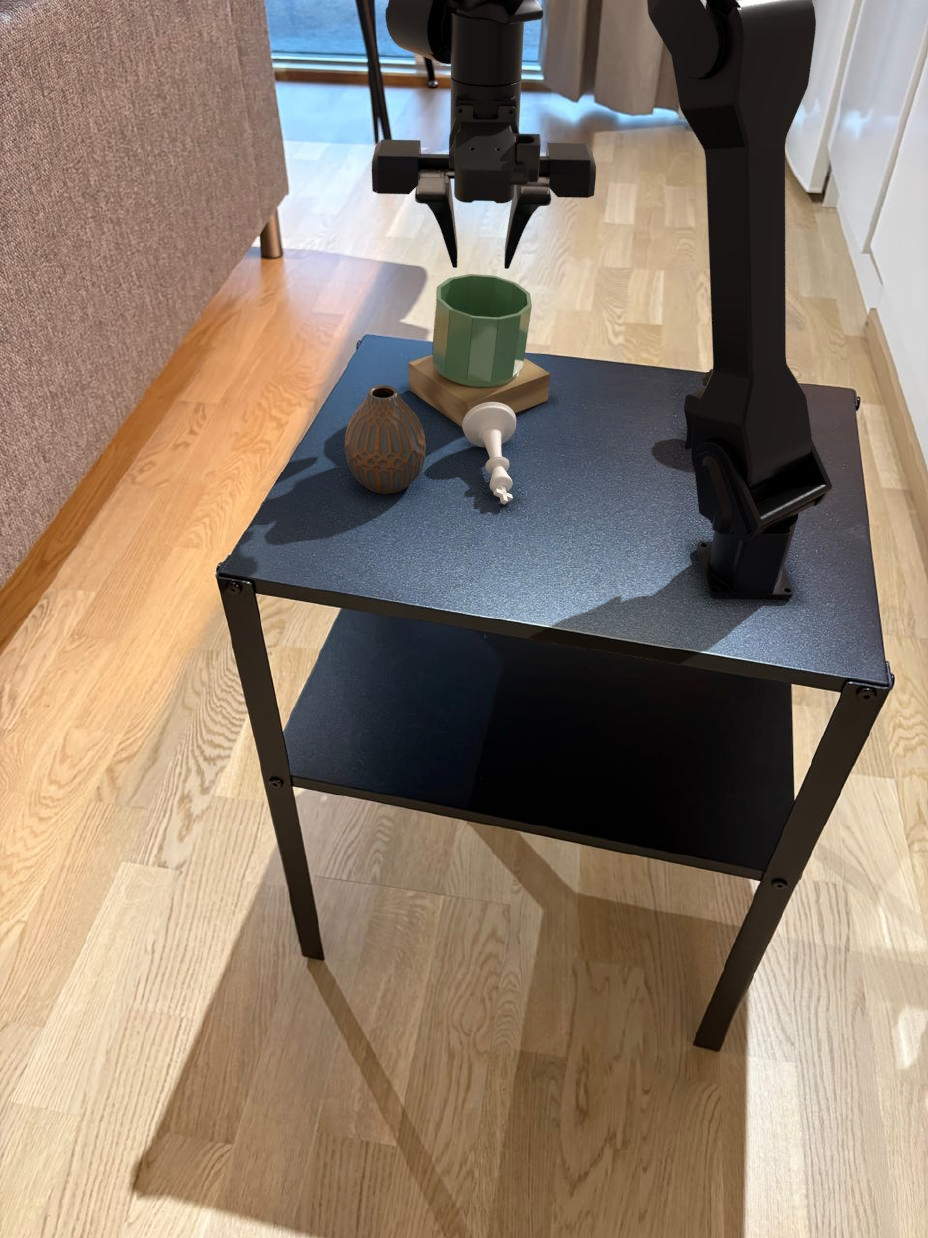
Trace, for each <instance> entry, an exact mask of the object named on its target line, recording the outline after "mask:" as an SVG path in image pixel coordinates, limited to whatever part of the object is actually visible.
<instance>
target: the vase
mask: <svg viewBox="0 0 928 1238" xmlns="http://www.w3.org/2000/svg"><path fill="white" fill-rule="evenodd" d="M426 443H427V442H426V436H425V432H424V428H423V425H422V423H421V420H420V418H419V417H418V415H417V414H416V412H415V411H414V410H413V409H412V408H411V407H410V406H409V405H408V404H407V403H406V402H405V401H404V400H403V398H402V397H401V395H400V393H399V391H398V389H396V388H395V387H393V386H391V385H384V384H381V385H376V386H373V387H371V388H370V389H369V390H368V392H367V395H366V397H365V398H364V401H363V402H362V403H361V404H360V405H359V406H358V407H357V409H356V410H355V411H354V413H353V414H352V416H351V417H350V419H349V421H348V424H347V427H346V431H345V435H344V453H345V459H346V462H347V465H348V468H349V470H350V473H351V474H352V475H353V477H354V478H355V480H356V481H357V482H358V483H359V484H360V485H361V486H363V487H364V488H366V489H368V490H370V491H371V492H374V493H377V494H382V495H383V494H384V495H386V494H395V493H398V492H402V491H404V490H405V489H406V488H407V487H409V486H410V485H411V484H413V483H414V482H415V481H416V479H417V478H418V477H419V475H420V473H421V472H422V469H423V466H424V463H425V459H426V450H427V448H426V447H427V446H426Z"/></svg>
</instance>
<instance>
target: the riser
mask: <svg viewBox="0 0 928 1238" xmlns="http://www.w3.org/2000/svg"><path fill="white" fill-rule="evenodd" d="M407 364H408V365H407V367H408V368H407V369H408V391H410V392H411V393H413V394H414V395H416V396H417V397H419V398H420V399H421V400H422V401H424V402H426V403H427V404H429V405H430V406H431V407H433V408H434V409H436V411H438V412H440V413H441V414H443V416H445V417H447V418H448V419H449V420H451V421H452V422H454V423H455V424H456V425H458V426H459V427H460V428H462V423H463V419H464V417H465V415H466V414H467V413H468V412H469V411H470V410H471V409H472V408H474V407H475V406H477V405H479V404H482V403H487V402H498V403H502V404H505V405H507V406H508V407H510V408H511V409H512V410H513V412H514V413H515V414H516V413H520V412H522V411H525V410H527V409H530V408H532V407H535V406H538V405H540V404H543V403H545V402H548V401H549V393H550V391H549V390H550V381H551V379H550V378H551V373H550V372H549V371H547V370H545V369H544V368H542V367H540V366H539V365H537V364H535V363H534V362H531V361H530V360H529V359H528V358H525V357H524V365H523V367H522V370H521V372H520V374H519V376H518V377H517V378H516V379H514V380H513V381H511V382H509V383H506V384H503V385H499V386H493V387H474V386H468V385H463V384H459V383H456V382H454V381H451V380H449V379H447V378H445V377H444V376H442V375H441V374H440V373H438V371H437V370H436V369H435V368H434V366H433V363H432V354H429V355H427V356H424V357H421V358H417V359H414V360H411V361H409V362H408V363H407Z"/></svg>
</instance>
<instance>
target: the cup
mask: <svg viewBox="0 0 928 1238" xmlns="http://www.w3.org/2000/svg"><path fill="white" fill-rule="evenodd" d="M435 291H436V292H435V306H434V319H433V333H432V346H431V349H432V350H431V351H432V352H431V355H432V363H433V366H434V368H435V369H436V370H437V371H438V373H440V374H441V375H442V376H444V377H445V378H447V379H449V380H451V381H454V382H456V383H459V384H463V385H468V386H474V387H493V386H499V385H503V384H506V383H509V382H511V381H513V380H514V379H516V378H517V377H518V376H519V374H520V372H521V370H522V367H523V365H524V358H525V356H526V350H527V342H528V337H529V336H528V335H529V330H530V329H529V328H530V322H531V315H532V313H531V312H532V307H533V304H532V296H531V293H530V292H529V291H527V290H526V289H525V288H524V287H522V286H521V285H520V284H519V283H517V282H515V281H512V280H509V279H507V278H503V277H501V276H497V275H489V274H477V273H476V274H475V273H468V274H463V275H458V276H452V277H449V278H447V279H446V280H444V281H443V282H441V283H440V284H439V285H437V286H436V289H435Z"/></svg>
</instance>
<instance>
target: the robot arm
mask: <svg viewBox="0 0 928 1238" xmlns="http://www.w3.org/2000/svg"><path fill="white" fill-rule="evenodd" d="M387 2H388V3H387V6H386V8H385V14H384V15H385V24H386V25H385V26H386V28H387V31H388V34H389V37H390V38H391V41H393V43H394V44H396V46H397V47H399V48H401V49H403V50H405V51H407V52H409V53H413V54H415V55H419V56H421V57H424V58H426V59H429V60H431V61H435V62H437V63H439V64H442V65H450V113H449V114H450V123H449V124H450V127H449V129H450V131H449V135H448V153H422V143H421V139H380V141H379V142H378V143H377V144H376V145H375V147H374V150H373V151H374V152H373V156H372V159H371V189H372V192H373V193H376V194H378V195H383V194H384V195H410V194H411V193H412V192H413V191H415V193H414V201H415V202H416V203H417V204H421V205H423V204H424V205H427V207H428V208H429V209H430V211H431V212H432V214H433V216H434V218H435V220H436V222H437V224H438V227H439V230H440V232H441V235H442V238H443V241H444V244H445V245H444V246H445V247H446V251H447V254H448V257H449V260H450V263H451V266H452V268H453V269H457V268H458V253H459V252H458V249H459V247H458V237H457V236H458V235H457V227H456V226H457V225H456V219H455V218H456V217H455V209H454V208H455V207H454V198H455V199H456V200H457V201H458V202H461V203H465V204H472V203H473V202H494V203H496V204H507V203H509V202H511V204H510V210H509V217H508V223H507V230H506V237H505V243H504V258H503V259H504V261H503V262H504V263H503V268H504V269H505V270H508V269H510V267H511V265H512V262H513V259H514V256H515V254H516V252H517V249H518V247H519V244H520V242H521V239H522V236H523V234H524V231H525V229H526V226H527V225H528V222H530V220H531V218H532V216H533V214H534V213H535V212H536V211H537V210H538V208H540V207H547V206H550V205H551V203H552V194H551V192H552V193H553V194H554V196H556V197H557V198H574V199H575V198H576V199H589V198H592V197H594V196H595V189H596V181H597V180H596V179H597V164H596V161H595V157H594V152H593V150H592V149H591V148H590V147H589V145H588V144H587V143H583V142H581V143H579V142H577V143H575V142H572V143H571V142H547V143H546V149H545V155H541V148H542V147H541V146H542V144H541V134H539V133H520V115H521V96H522V95H521V94H522V74H523V72H522V71H523V55H524V53H523V52H524V33H525V32H524V31H525V23H527V22H534V21H539V20H540V21H541V20H542V19H543V18H544V9H543V8H542V6H541V4H540V3H539V1H538V0H388V1H387ZM646 3H647V5H646V6H647V15H648V17H649V21H651V23H652V25H653V27H654V28H655V30H656V32H657V33H658V36H659V37H660V39H661V41H662V42H663V44H664V45H665V47H666V49H667V50H668V52H669V54H670V57H671V62H672V63H671V64H672V69H673V75H674V81H675V86H676V93H677V98H678V104H679V105H678V106H679V108H680V111H681V113H682V114H683V116H684V118H685V120H686V121H687V123H688V125H689V127H690V128H691V130H692V132H693V133H694V135H695V137H696V138H697V140H698V142H699V144H700V146H701V147H702V149H703V152H704V153H703V154H704V157H705V158H704V159H705V184H706V211H707V212H706V213H707V235H708V236H707V237H708V263H709V266H708V267H709V289H710V312H711V313H710V314H711V315H710V316H711V319H710V320H711V342H712V343H711V344H712V347H711V348H712V369H713V371H712V374H711V377H710V379H709V381H708V383H707V386H706V387H705V386H704V387H703V388H701V389H698V390H696V391H693V392H691V393H689V394H686V395H685V399H684V405H683V410H684V416H685V422H686V439H685V442H684V446H683V447H684V448H683V449H684V450H685V451H688V450H691V451H690V458H691V463H692V467H693V471H694V475H695V477H694V479H695V487H696V496H697V507H698V512H699V514H700V516H702V517H704V518H706V519H707V520H709V522H710V524H711V528H712V530H713V531H714V532H713V537H712V541H699V542H697V544H696V553H697V555H698V560H699V563H700V567H701V570H702V575H703V578H704V583H705V586H706V589H707V592H708V595H709V596H710V597H712V598H731V599H732V598H733V599H735V598H736V599H742V598H743V599H787V600H788V599H792V598H793V597H794V593H795V590H794V587H793V584H792V581H791V579H790V577H789V574H788V571H787V568H786V566H785V564H786V560H787V557H788V553H789V550H790V547H791V543H792V540H793V537H794V533H795V530H796V527H797V522H798V519H799V514H800V513H803V512H804V511H806V510H808V509H809V508H811V507H816V506H818V505H820V504H821V503H822V502H823V501H824V499H825V498H826V497H827V496H828V495H829V493H830V492H831V491H832V489H833V483H832V482H831V479H830V477H829V474H828V472H827V470H826V468H825V465H824V463H823V461H822V459H821V456H820V455H819V452H818V449H817V447H816V445H815V443H814V441H813V437H812V436H813V435H812V427H811V421H810V415H809V408H808V400H807V395H806V393H805V391H804V389H803V388H802V386H801V384H800V383H799V381H798V380H797V377H796V376H795V375H794V373H793V371H792V370H791V368H790V367H789V365H788V362H787V350H786V349H787V346H786V345H787V342H786V341H787V338H786V337H787V335H786V332H787V331H786V330H787V329H786V328H787V327H786V325H787V324H786V321H787V319H786V318H787V317H786V315H787V313H786V311H787V309H786V304H787V303H786V302H787V301H786V300H787V299H786V295H787V293H786V290H787V289H786V143H787V138H788V134H789V131H790V130H791V127H792V124H793V123H794V120H795V117H796V115H797V113H798V110H799V108H800V106H801V103H802V101H803V99H804V97H805V94H806V92H807V90H808V87H809V82H810V75H811V68H812V61H813V53H814V45H815V38H816V31H817V30H816V29H817V18H816V10H815V6H814V3H813V0H646ZM452 180H453V187H452ZM452 188H453V189H452ZM453 194H454V198H453ZM799 384H800V385H799Z"/></svg>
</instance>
